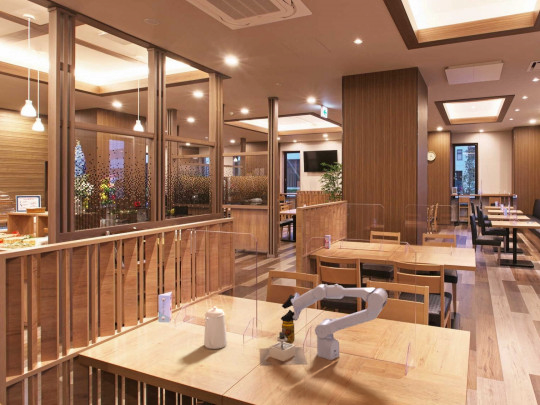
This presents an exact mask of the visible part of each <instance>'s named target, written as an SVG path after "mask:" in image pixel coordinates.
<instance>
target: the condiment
mask: <svg viewBox="0 0 540 405" xmlns="http://www.w3.org/2000/svg"><path fill="white" fill-rule="evenodd" d="M294 321H295V320H288V321H282V322H281V332H285V337H287V341H285V342H286V343H289V344H292V343H294V342H295V341H296V340H295V322H294Z"/></svg>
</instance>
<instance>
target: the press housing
mask: <svg viewBox="0 0 540 405" xmlns="http://www.w3.org/2000/svg"><path fill="white" fill-rule="evenodd" d="M280 343H281V342H279V341H277V342H276V343H274V344H271V345H269V347H268V348H270V357H273V358H275V359H278V360H281V361H285V360H287V359H289V358H291V357H293V356H295V347H296V345H295V344H293V343H286V342H283V343H284V344H287V345H290V346H291V347H289V348H287V349H285V350H281V349H278V348H275V347H273V346H276V345H278V344H280Z"/></svg>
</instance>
